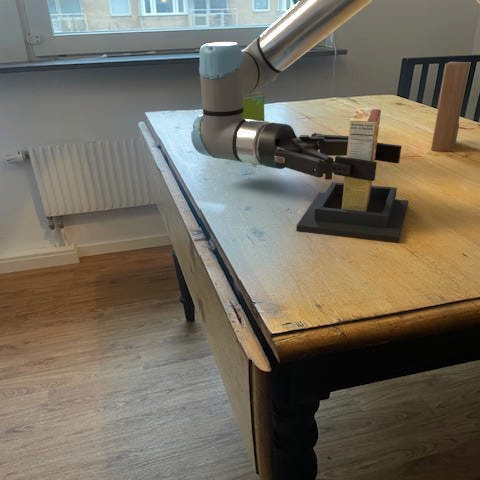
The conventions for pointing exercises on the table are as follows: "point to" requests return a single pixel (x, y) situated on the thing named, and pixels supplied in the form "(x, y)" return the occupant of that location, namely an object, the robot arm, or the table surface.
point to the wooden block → (450, 106)
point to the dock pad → (356, 215)
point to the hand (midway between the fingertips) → (387, 162)
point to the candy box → (361, 156)
